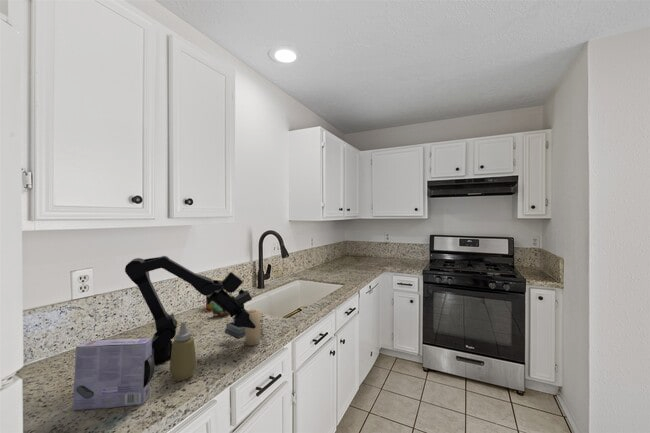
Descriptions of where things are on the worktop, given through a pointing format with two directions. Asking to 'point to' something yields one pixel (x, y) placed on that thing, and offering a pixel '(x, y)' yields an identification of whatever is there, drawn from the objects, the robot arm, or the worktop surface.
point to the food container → (218, 310)
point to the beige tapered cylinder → (252, 334)
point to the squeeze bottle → (183, 355)
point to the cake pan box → (112, 373)
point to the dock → (235, 330)
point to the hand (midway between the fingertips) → (252, 323)
